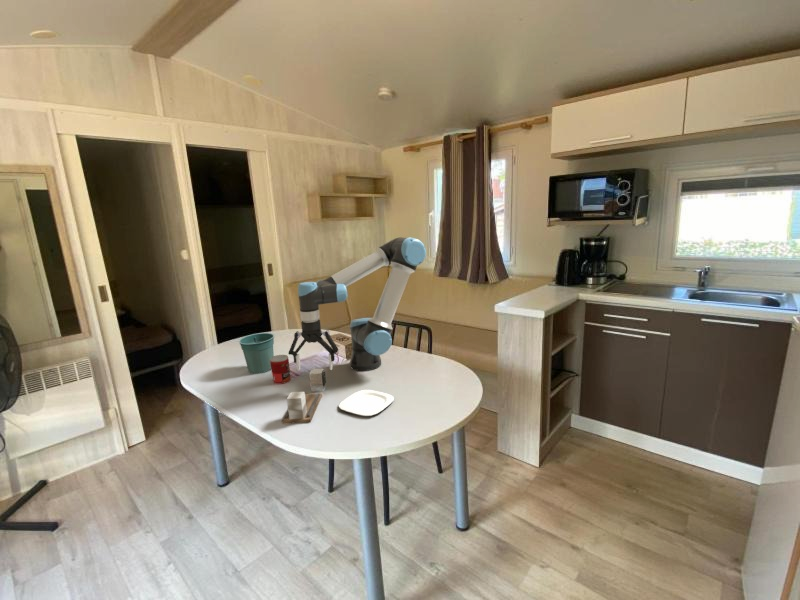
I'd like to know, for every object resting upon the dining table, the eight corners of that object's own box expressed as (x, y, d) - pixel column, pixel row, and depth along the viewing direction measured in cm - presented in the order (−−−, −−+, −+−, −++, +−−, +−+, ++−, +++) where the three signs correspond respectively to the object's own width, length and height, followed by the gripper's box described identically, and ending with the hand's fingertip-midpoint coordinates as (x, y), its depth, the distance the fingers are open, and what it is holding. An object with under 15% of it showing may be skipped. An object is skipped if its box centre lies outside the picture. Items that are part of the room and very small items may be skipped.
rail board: (322, 396, 153) (319, 375, 151) (310, 422, 133) (307, 398, 131) (297, 397, 153) (295, 376, 151) (282, 423, 134) (279, 399, 132)
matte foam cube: (311, 391, 157) (309, 374, 156) (314, 386, 162) (312, 369, 161) (324, 391, 157) (322, 373, 156) (326, 385, 162) (325, 368, 160)
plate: (372, 422, 132) (371, 417, 131) (333, 410, 141) (332, 406, 141) (399, 400, 147) (399, 396, 146) (362, 391, 156) (362, 387, 156)
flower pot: (264, 377, 175) (259, 344, 172) (236, 374, 181) (230, 342, 177) (285, 364, 191) (281, 333, 187) (258, 361, 196) (254, 332, 193)
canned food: (286, 384, 166) (282, 360, 164) (269, 383, 168) (266, 360, 166) (294, 377, 174) (291, 354, 171) (278, 376, 175) (275, 354, 173)
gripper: (342, 316, 157) (346, 364, 161) (282, 319, 157) (288, 366, 161) (339, 321, 149) (343, 371, 154) (277, 323, 150) (282, 373, 154)
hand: (315, 369), depth 158 cm, fingers open, 13 cm apart
